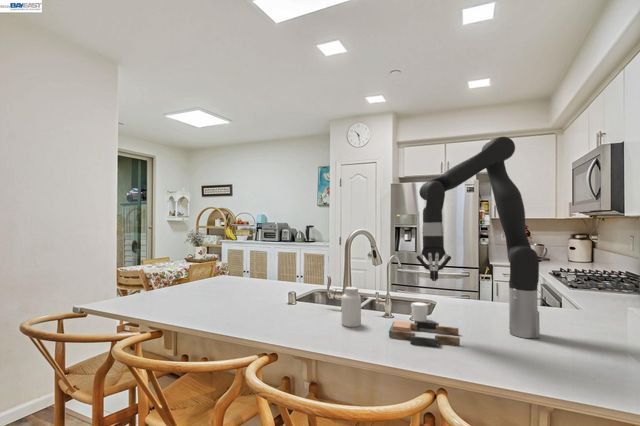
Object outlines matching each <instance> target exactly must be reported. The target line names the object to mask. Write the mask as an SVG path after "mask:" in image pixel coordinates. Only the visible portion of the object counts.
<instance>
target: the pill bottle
mask: <svg viewBox="0 0 640 426" xmlns="http://www.w3.org/2000/svg"><path fill="white" fill-rule="evenodd" d="M358 292H359V288H358V287H355V286H346V287H345V288H344V294H343V295H341V324H342V326H344V327H347V328H348V327H349V328H357V327H360V326H361V324H362V323H361V322H362V298H361V295H360V294H359V293H358Z"/></svg>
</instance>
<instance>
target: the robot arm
mask: <svg viewBox="0 0 640 426" xmlns="http://www.w3.org/2000/svg"><path fill="white" fill-rule="evenodd" d="M514 142H515V141H513V139H511V138H510V137H507V136H499V137H496V138H494V139H491V140H490V141H488V142H486V143H485V144H483V146H482V148H481V151H480V152H478V153H477V154H475V155H474V156H472V157H470V158H468V159H466V160H464V161H462V162H460V163H458V164H457V165H454V166H452V167H451V168H450V169H448V170H446V171H445V172H443V173H441V175H438V176H436V177H435V178H432V179H430V180H429V181H427V182H425V183H424V184H422V185H421V186H420V187H419V188H420V189H419V197H420V198H421V199H422V200H424V201H426V204H425V205H426V206H425V207H424V208H423V209H422V227H421V228H422V229H421V230H422V250H421V253H420V254H417V256H416V260H417V261H418V262H419V263H420V264H421V265H422V267H423V268H424V269H425V270H428V271H429V277H430V278H429V279H430V280H432V282H437V281H438V280H439V271H441V270H443V269H444V268H445V266H447V265H448V264H449V262H450V261H451V259H452V256H451V255H449V254H447V253H446V250H445V246H444V245H445V241H444V239H445V237H444V224H443V208H444V205H445V204H444V203H445V197H446V192H447V191H449V190H453V189H455V188H458V187H459V186H460V185H462V184H464V183H465V182H467V181H468V180H470V179H471V178H473V177H475V176H476V175H478V174H479V173H480V172H481V171H484V170H485V169H486V172H487V175H488V178H489V181H490V185H491V186H490V187H491V190H492V193H493V199H494V203H495V208H496V211H497V216H498V218H499V222H500V225H501V227H502V230H503V234H504V237H505V242H506V250H507V251H506V252H507V259H508V262H509V281H508V296H509V297H508V301H509V302H508V303H509V304H508V310H509V313H508V314H509V315H508V316H509V318H508V319H509V320H508V321H509V324H508V325H509V326H508V327H509V334H511V335H512V336H515V337H517V338H518V337H519V338H523V339H540V338H541V337H540V336H541V334H540V330H541V329H540V311H539V310H538V309H539V308H538V306H539V305H538V303H539V301H538V300H539V299H538V286H539V282H540V281H539V279H540V275H539V274H540V271H539V270H540V261H539V260H540V259H539V256H538V253H537V252H536V251H535V250H534V249H533V248H532V246H531V244H530V241H529V239H528V235H527V231H526V211H525V205H524V202H523V201H524V200H523V197H522V193H521V192H520V190H519V188H518V187H517V185H516V184H515V183H514V182H513V181H512V178H510V176H509V174H508V172H507V168H506V165H505V161H506V160H508V159H510V158H511V157H512V156H513V155H514V153H515V152H516V144H515V143H514ZM424 258H425V260H426V261H427V262H428V264H429V265H428V264H427V263H426V262H425V260H424ZM442 259H444V260H443V262H442V263H441V264H440V265H439V262H441V260H442Z"/></svg>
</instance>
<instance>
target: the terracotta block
mask: <svg viewBox="0 0 640 426" xmlns="http://www.w3.org/2000/svg"><path fill="white" fill-rule="evenodd" d="M393 322H394V324H393V323H392V324H393V330H395V331H404V332H412V331H411V323H412V322H411V321H410V322H409V321H400V320H394V321H393Z"/></svg>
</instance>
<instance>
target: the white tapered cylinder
mask: <svg viewBox="0 0 640 426" xmlns="http://www.w3.org/2000/svg"><path fill="white" fill-rule="evenodd" d="M410 306H411V316H413V317H412V321H414V322H415V321H423V322H427V320H428V319H427V318H428V317H427V316H428V306H429V305H428V303H427V302H421V301H413V302H411V304H410Z"/></svg>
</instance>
